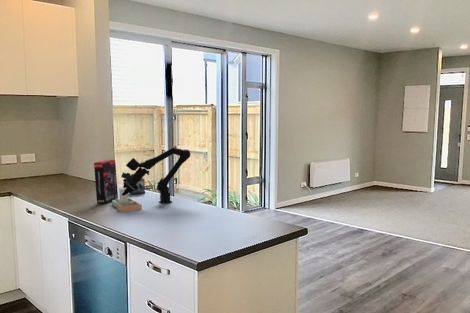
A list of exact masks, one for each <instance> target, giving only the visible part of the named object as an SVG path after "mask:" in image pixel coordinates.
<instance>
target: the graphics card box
mask: <svg viewBox="0 0 470 313" xmlns="http://www.w3.org/2000/svg"><path fill="white" fill-rule="evenodd" d="M116 163H117V162H116V160H115V159H105V160H102V161H101V160H100V161H97V162H93V166H94V170H93V171H94V179H95V180H94V181H95V182H94V183H95V191H96V192H95V193H96V195H95V196H96V204H97V205H106V204H109V203H110V202H111V203H112V200H117V199H119V194H118V179H117V178H118V176H117V167H116V166H117V165H116Z"/></svg>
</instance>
